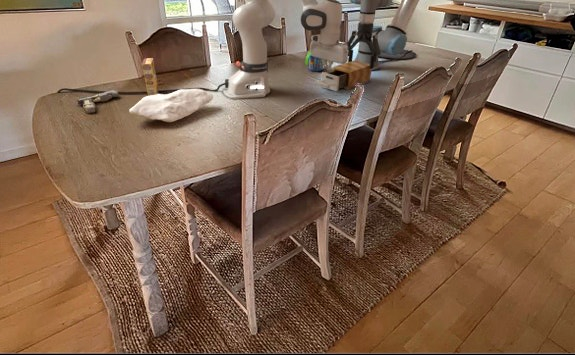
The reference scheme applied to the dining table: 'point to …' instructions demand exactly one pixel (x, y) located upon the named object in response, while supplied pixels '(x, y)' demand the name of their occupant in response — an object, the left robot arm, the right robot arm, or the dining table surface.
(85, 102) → the handgun
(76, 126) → the dining table surface
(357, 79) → the cabinet
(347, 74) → the drawer
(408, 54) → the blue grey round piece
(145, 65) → the candy box
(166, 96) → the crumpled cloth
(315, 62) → the snack cup
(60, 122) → the dining table surface
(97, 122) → the dining table surface
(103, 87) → the dining table surface
